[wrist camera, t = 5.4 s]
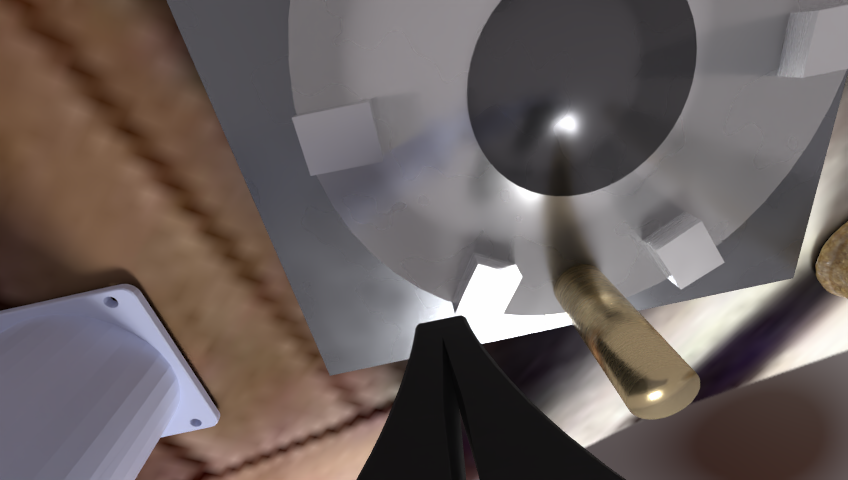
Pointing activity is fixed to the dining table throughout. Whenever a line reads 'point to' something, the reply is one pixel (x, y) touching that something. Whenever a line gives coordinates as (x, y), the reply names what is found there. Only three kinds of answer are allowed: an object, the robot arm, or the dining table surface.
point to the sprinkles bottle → (834, 263)
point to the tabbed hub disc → (561, 148)
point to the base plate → (346, 255)
